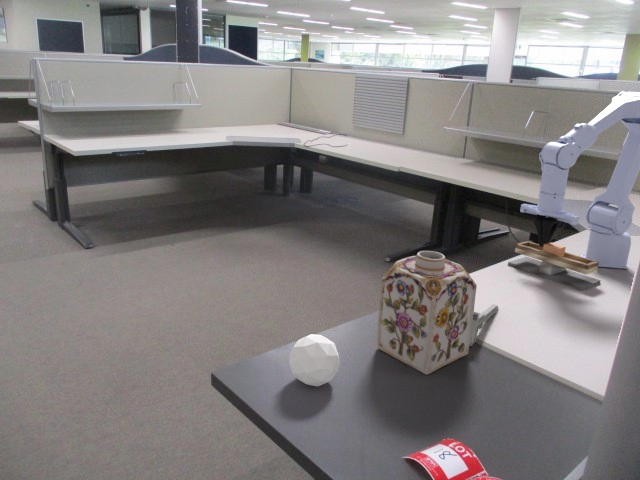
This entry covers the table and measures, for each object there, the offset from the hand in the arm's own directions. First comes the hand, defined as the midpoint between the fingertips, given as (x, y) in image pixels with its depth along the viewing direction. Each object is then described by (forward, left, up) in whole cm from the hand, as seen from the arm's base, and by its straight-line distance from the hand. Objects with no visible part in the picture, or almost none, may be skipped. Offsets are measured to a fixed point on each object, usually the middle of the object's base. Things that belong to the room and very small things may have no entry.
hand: (543, 245), depth 133 cm
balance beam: (-2, +2, -6) cm, 7 cm away
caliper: (+19, +36, -7) cm, 41 cm away
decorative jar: (+31, +49, -7) cm, 59 cm away
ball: (+48, +62, -7) cm, 79 cm away
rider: (-2, +2, -2) cm, 3 cm away
